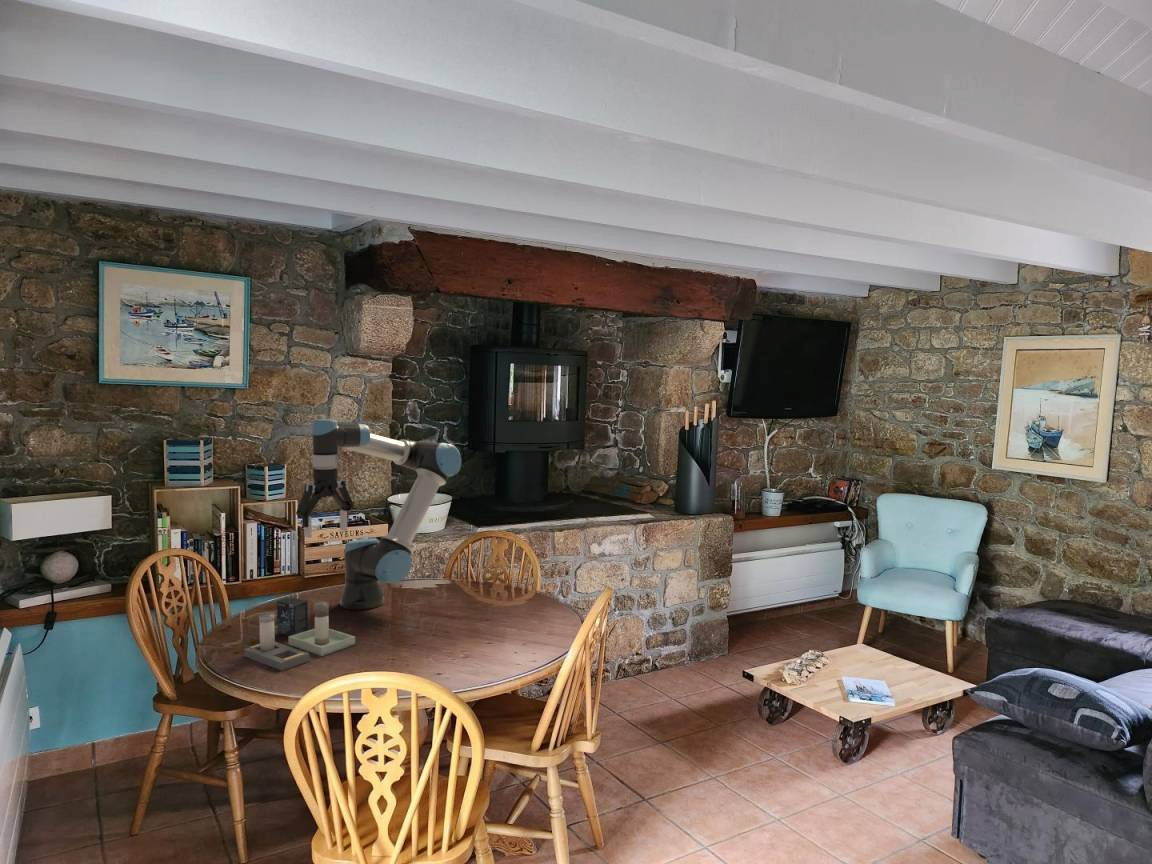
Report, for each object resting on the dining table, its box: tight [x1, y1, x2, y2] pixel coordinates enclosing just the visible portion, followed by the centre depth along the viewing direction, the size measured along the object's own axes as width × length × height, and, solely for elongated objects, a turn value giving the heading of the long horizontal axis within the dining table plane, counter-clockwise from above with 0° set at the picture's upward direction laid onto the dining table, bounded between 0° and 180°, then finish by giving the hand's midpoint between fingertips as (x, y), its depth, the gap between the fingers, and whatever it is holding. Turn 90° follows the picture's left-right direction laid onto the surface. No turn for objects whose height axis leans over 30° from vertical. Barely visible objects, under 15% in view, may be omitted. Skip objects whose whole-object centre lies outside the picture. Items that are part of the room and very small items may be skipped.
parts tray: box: [287, 628, 356, 657], centre depth 234 cm, size 16×12×2 cm
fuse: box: [258, 612, 276, 652], centre depth 225 cm, size 4×4×12 cm
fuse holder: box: [243, 641, 311, 672], centre depth 222 cm, size 18×9×2 cm, turn 55°
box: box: [276, 596, 309, 637], centre depth 244 cm, size 8×6×11 cm
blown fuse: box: [313, 601, 330, 645], centre depth 234 cm, size 4×4×12 cm
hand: (326, 533), depth 248 cm, fingers open, 13 cm apart
